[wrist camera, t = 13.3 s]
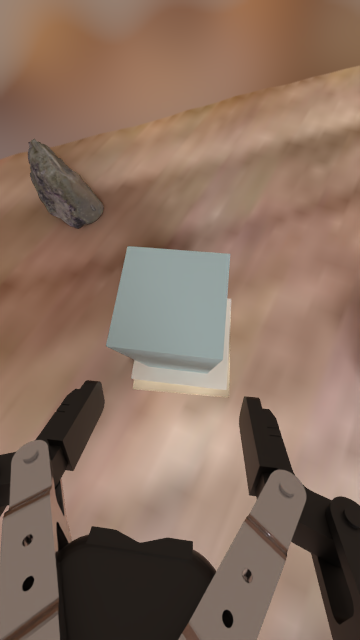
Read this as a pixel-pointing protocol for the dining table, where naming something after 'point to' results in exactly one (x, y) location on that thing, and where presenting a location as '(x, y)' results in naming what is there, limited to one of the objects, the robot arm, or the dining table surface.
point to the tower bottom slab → (183, 388)
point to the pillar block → (171, 308)
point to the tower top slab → (209, 380)
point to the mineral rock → (62, 188)
